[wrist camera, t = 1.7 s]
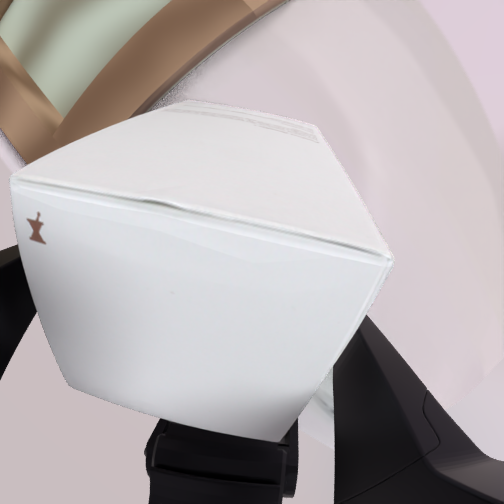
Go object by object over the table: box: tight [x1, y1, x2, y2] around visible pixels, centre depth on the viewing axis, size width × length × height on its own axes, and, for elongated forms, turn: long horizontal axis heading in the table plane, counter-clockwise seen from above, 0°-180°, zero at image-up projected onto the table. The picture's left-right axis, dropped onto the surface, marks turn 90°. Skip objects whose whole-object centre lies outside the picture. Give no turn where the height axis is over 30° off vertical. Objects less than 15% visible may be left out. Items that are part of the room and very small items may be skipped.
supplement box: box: [9, 100, 394, 442], centre depth 12 cm, size 7×7×13 cm
